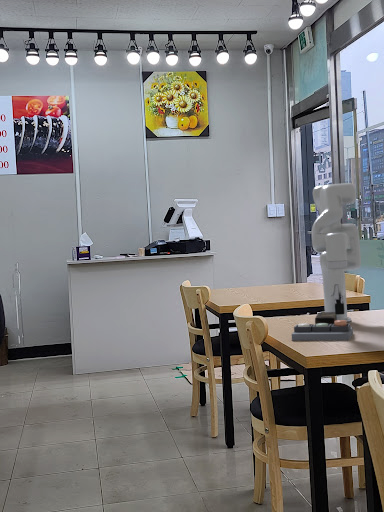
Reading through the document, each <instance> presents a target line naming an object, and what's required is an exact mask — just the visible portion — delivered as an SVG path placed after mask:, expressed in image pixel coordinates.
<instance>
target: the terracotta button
mask: <svg viewBox="0 0 384 512" xmlns="http://www.w3.org/2000/svg"><path fill="white" fill-rule="evenodd" d="M347 324H348V322H347V321H346V320H336V321H335V326H347Z"/></svg>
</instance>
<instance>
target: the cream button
mask: <svg viewBox="0 0 384 512" xmlns="http://www.w3.org/2000/svg"><path fill="white" fill-rule="evenodd" d="M298 327H310V323H306V322H305V323H298Z"/></svg>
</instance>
